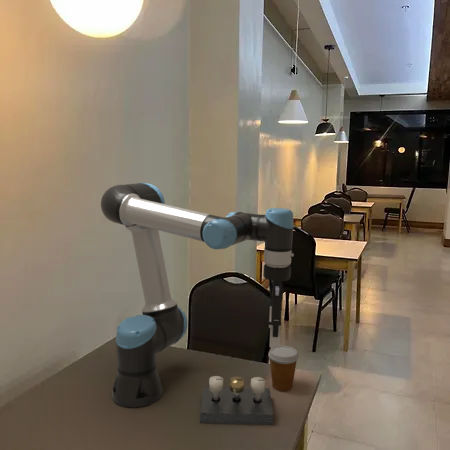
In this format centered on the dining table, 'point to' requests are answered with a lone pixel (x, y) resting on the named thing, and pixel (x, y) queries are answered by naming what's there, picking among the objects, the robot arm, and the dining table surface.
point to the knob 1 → (215, 386)
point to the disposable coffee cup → (283, 367)
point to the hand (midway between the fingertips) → (274, 336)
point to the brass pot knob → (236, 386)
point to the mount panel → (236, 407)
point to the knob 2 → (257, 387)
